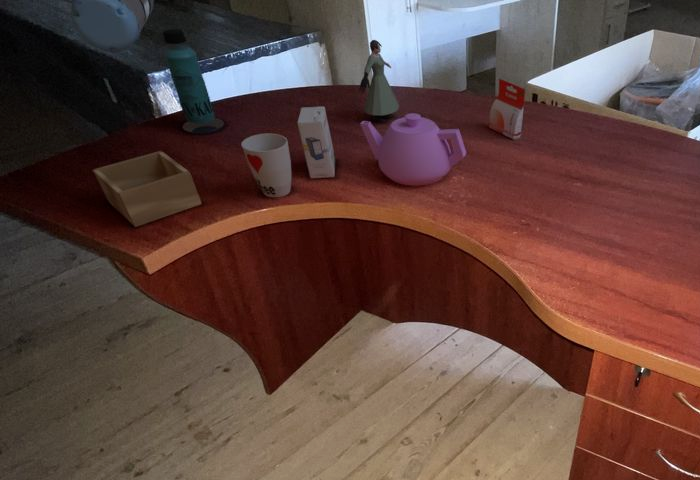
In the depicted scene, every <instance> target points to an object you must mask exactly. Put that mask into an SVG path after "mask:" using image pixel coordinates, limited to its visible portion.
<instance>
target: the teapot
mask: <svg viewBox="0 0 700 480" xmlns="http://www.w3.org/2000/svg"><path fill="white" fill-rule="evenodd" d="M359 124H360V127H361V129H362V131H363V134H364V136H365V139H366V140H367V142H368V146H369V147H370V149H371V152H372V154H373V156H374V158H375V160H377V161H378V167H379V169H380V171H381V172H382V173H383V174H384V175H385V176H386V177H388V179H390V180H391V181H392V182H395V183H396V184H399V185H404V186H413V187H418V186H419V187H420V186H421V187H422V186H428V185H432V184H435V183H437V182H439V181H441V180H442V179H443V178H444V177H445V176H446V175H447V174H448V173H449V171H450V170H452V167H453V166H455V165H456V164H457V163H459V162H460V161H461V160H463V159H464V158H465V157H466V155H467V150H466V147H465V144H464V141H463V138H462V135H461V134H462V133H461V131H460V129H459V128H452V129H451V128H447V129H440V127H439V126H438V125H437V124H436V123H435V122H434V121H433V120H431V119H429V118H426V117H421V114H418V113H416V112H415V113H414V112H410V113H407V114H405V115H404V117H399V118H398V119H395V120H394V121H392V122H391V123H390V125H389V126H388V128H387V130H386V131H385V134H384V136H382V135H381V134H380V132H379V131H378V130H377V129H376V127H374V125H373V123H372V122H371V121H368V120H362V121H361V122H360V123H359ZM449 139H450V143H451V147H452V151H451V147H450V145H449V143H448V140H449ZM443 176H444V177H443ZM441 177H442V178H441ZM439 178H440V179H439ZM437 179H438V180H437ZM434 180H435V181H434ZM430 181H431V182H430ZM425 182H426V183H425Z"/></svg>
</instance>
